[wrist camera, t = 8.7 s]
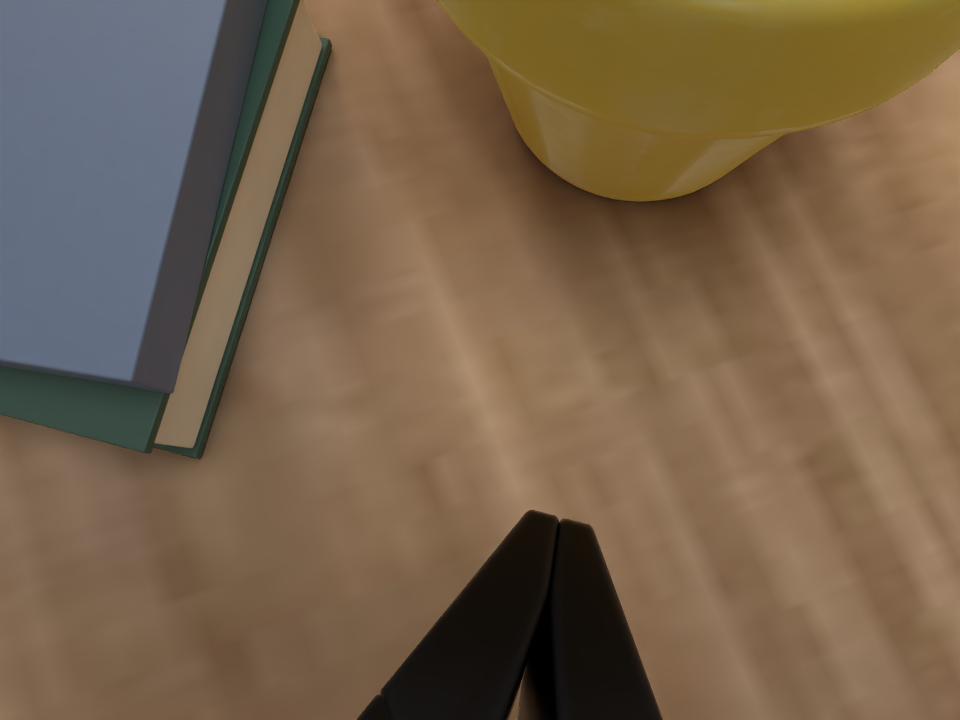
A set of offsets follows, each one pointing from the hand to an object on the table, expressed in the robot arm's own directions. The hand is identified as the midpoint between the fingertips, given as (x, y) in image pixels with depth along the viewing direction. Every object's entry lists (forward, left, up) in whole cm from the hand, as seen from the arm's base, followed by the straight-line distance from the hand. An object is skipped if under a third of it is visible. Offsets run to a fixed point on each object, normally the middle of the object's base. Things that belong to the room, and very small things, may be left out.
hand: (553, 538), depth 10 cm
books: (+7, +11, -7) cm, 15 cm away
